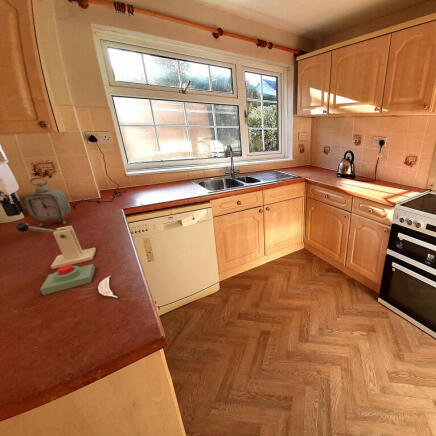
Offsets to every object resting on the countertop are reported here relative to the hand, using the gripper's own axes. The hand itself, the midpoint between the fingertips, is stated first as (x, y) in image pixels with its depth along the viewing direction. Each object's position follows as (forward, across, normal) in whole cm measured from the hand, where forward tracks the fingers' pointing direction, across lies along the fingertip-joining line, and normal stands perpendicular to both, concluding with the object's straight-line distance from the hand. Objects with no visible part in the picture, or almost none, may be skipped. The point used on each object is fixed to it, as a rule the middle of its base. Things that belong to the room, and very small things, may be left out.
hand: (16, 213), depth 83 cm
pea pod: (+21, +30, +23) cm, 44 cm away
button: (+18, +18, +12) cm, 28 cm away
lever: (+9, 0, +4) cm, 10 cm away
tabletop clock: (+21, -53, -7) cm, 58 cm away
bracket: (+21, 0, +10) cm, 23 cm away
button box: (+21, +18, +12) cm, 30 cm away
